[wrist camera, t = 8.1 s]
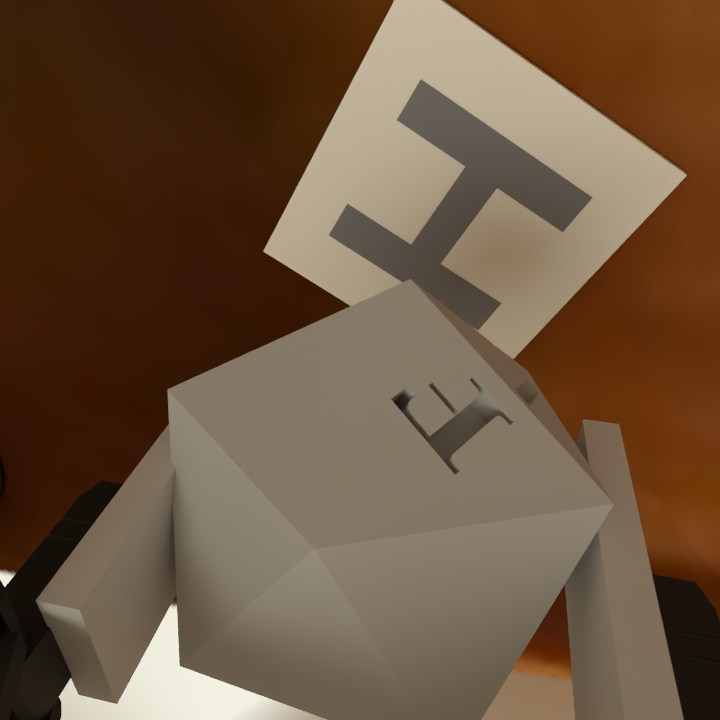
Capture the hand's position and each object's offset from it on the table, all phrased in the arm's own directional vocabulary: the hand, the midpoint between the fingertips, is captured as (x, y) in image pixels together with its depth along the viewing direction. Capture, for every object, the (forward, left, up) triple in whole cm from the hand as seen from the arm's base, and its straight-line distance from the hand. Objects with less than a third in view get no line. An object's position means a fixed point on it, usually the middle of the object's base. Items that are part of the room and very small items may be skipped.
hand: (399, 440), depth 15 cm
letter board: (0, 0, -15) cm, 15 cm away
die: (0, 0, -2) cm, 2 cm away
